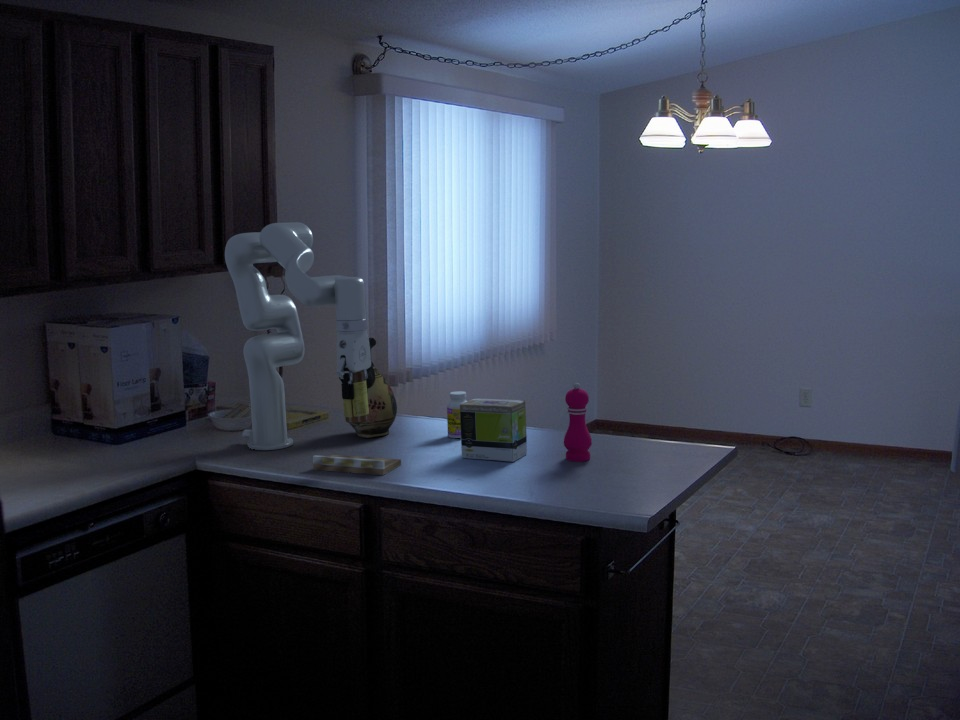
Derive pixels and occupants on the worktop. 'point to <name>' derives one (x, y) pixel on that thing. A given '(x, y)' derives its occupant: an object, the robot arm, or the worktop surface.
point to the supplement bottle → (455, 413)
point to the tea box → (493, 429)
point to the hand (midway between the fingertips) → (355, 395)
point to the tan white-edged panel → (355, 464)
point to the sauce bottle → (357, 400)
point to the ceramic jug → (377, 404)
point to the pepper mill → (577, 426)
